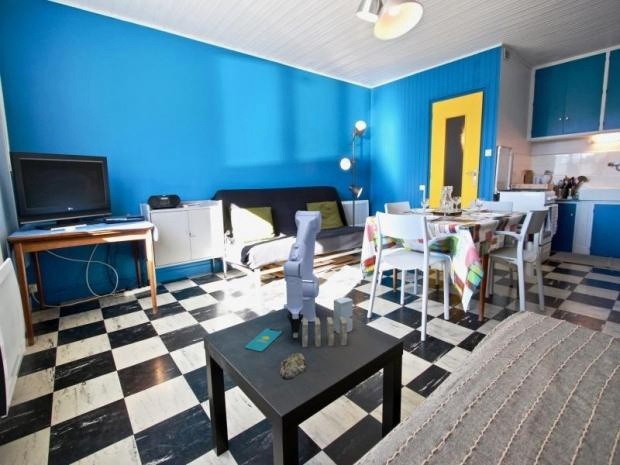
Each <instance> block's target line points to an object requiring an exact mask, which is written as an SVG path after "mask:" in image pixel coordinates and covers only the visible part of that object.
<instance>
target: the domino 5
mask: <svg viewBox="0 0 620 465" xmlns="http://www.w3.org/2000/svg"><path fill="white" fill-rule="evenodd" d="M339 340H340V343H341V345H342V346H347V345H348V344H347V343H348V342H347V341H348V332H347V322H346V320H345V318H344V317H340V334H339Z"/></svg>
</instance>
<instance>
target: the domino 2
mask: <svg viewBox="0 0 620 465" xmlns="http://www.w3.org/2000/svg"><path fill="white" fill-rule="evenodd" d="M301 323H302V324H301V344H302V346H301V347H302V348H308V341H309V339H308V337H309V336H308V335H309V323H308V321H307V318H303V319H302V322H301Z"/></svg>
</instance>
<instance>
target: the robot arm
mask: <svg viewBox="0 0 620 465" xmlns="http://www.w3.org/2000/svg"><path fill="white" fill-rule="evenodd" d="M294 219H295V220H294V222H295V224H296V228H297V231H296V232H297V233H296V239H295V242H293V243H292V244H291V247H290V251H289V254H288V259H287V260H286V261H285V262H284V264H283V270H282V271H283V272H282V273H283V276H284V281H285V282H286V284H285V286H286V303H285V304H283V309H286V310H287V311H288V313H287V314H286V318H287V320H288V321H289V324H290V328H291V329H290V330H291V333H292V334H293V333H298V334H299V332H300V327H301V323H302V319H303V318H307V321H308V322H309V323H311V322H312V323H314V318H317V314H316V298H318V296H319V292H320V279H319V278H318V277H317V276H316V275H315V274H314V265H315V264H314V262H315V261H314V260H315V249H316V239H317V234H319V233H321V229H322V220H323V218H322V213H321V211H320V210H317V211H311V210H308V211H307V210H297V211H296V213H295V216H294Z"/></svg>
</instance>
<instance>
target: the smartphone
mask: <svg viewBox="0 0 620 465" xmlns="http://www.w3.org/2000/svg"><path fill="white" fill-rule="evenodd" d="M282 334H283V331H282V330H279V329H278V330H277V329H272V328H266V329H264V330H263V331H262V332H260V333H259V334H258V335H257V336H256V337H254V338H253V339H252V340H251V341H250V342H248V343H247V344H246V345H245V346H244V349H245V350H248V351H253V352H257V353H263V352H265V350H267V348H269V347H270V345H272V344H273V343H274V342H275V341H276V340H277V339H278V338H279V337H280V336H281V335H282Z"/></svg>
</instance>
